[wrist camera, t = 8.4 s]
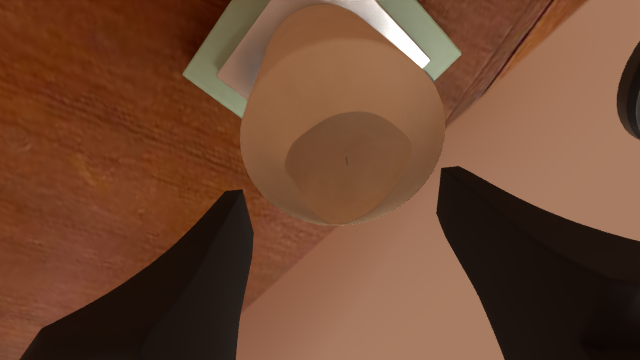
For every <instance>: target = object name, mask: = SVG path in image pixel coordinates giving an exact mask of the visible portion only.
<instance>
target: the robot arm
mask: <svg viewBox="0 0 640 360" xmlns="http://www.w3.org/2000/svg"><path fill="white" fill-rule="evenodd" d="M436 214H437V216H438V218H439V222H440V224H441V227H442V229H443V232H444V234H445V236H446V238H447V240H448V242H449V244H450V246H451V248H452V249H453V251H454V253H455V255H456V256H457V258H458V260H459V262H460V264H461V265H462V267H463V269H464V270H465V272H466V274H467V276H468V277H469V279H470V281H471V283H472V285H473V286H474V288H475V290H476V292H477V294H478V296H479V298H480V300H481V303H482V305H483V307H484V310H485V312H486V314H487V317H488V319H489V321H490V324H491V326H492V329H493V331H494V334H495V336H496V338H497V341H498V343H499V346H500V348H501V351H502V354H503V356H504V359H505V360H640V241H636V240H632V239H628V238H624V237H621V236H617V235H614V234H610V233H606V232H604V231H601V230H597V229H594V228H591V227H588V226H585V225H582V224H579V223H576V222H573V221H571V220H568V219H565V218H563V217H560V216H558V215H555V214H553V213H550V212H548V211H545V210H543V209H540V208H538V207H536V206H534V205H532V204H530V203H528V202H526V201H523V200H521V199H519V198H517V197H515V196H514V195H512V194H509V193H508V192H506V191H504V190H502V189H500V188H498V187H496V186H494V185H493V184H491V183H489V182H487V181H486V180H484V179H482V178H480V177H478V176H476V175H475V174H473V173H471V172H469V171H467V170H465V169H463V168H461V167H459V166H456V167H447V168H441V177H440V186H439V195H438V203H437V212H436ZM253 234H254V233H253V229H252V225H251V221H250V217H249V213H248V209H247V205H246V201H245V197H244V194H243V190H242V189H241V190H232V191H225V192H224V193H223V194H222V196H221V197H220V198H219V199H218V200H217V201H216V202H215V203H214V204H213V206H212V207H211V208H210V209H209V210H208V211H207V212H206V213H205V214H204V215H203V217H202V218H201V219H200V220H199V221H198V222H197V223H196V224H195V225H194V226H193V227H192V228H191V229H190V230H189V231H188V232H187V233H186V234H185V235H184V236H183V237H182V238H181V239H180V240H179V241H178V242H177V243H176V244H174V245H173V246H172V247H171V248H170V249H169V250H168V251H166V252H165V253H164V254H163V255H161V256H160V257H159V258H158V259H157V260H155V261H154V262H153V263H151V264H150V265H149V266H147V267H146V268H145V269H143V270H142V271H140V272H139V273H137V274H136V275H135V276H133V277H132V278H130V279H129V280H127V281H126V282H125V283H123V284H122V285H120V286H118V287H117V288H115V289H114V290H112V291H110V292H109V293H107V294H106V295H104V296H102V297H100V298H99V299H97V300H95V301H94V302H92V303H90V304H88V305H86V306H85V307H83V308H81V309H79V310H77V311H75V312H73V313H71V314H69V315H67V316H65V317H63V318H62V319H60V320H58V321H56V322H54V323H52V324H50V325H48V326H46V327H44V328H42V329H41V330H40V331H39V333H38V334H37V336H36V337H35V338H34V340H33V341H32V343H31V344H30V345H29V347H28V348H27V350H26V351H25V353H24V354H23V355H22V357H21V358H20V360H236V349H237V338H238V329H239V320H240V314H241V308H242V304H243V299H244V294H245V289H246V284H247V280H248V275H249V270H250V265H251V259H252V250H253Z"/></svg>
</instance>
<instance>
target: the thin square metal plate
mask: <svg viewBox="0 0 640 360" xmlns="http://www.w3.org/2000/svg"><path fill="white" fill-rule="evenodd" d="M325 4H328V5H336V6H339V7H343V8H345V9H348V10H350V11H352V12H354V13H355V14H357V15H358V16H360V17H361V18H363V19H364V20H365V21H366V22H367V23H369V24H370V25H371V26H372V27H374V28H375V29H376V30H377V31H379V32H380V33H381V34H382V35H383V36H385V37H386V38H387V39H388V40H390V41H391V42H392V43H393V44H394V45H396V46H397V47H398V48H399V49H401V50H402V51H403V52H404V53H405V54H407V55H408V56H409V57H410V58H411V59H413V60H414V61H415V62H416V63H417V64H418V65H419V66H420V67H421V68H422V69H423V68H424V67H425V66H426V65H427V64H428V63H429V62H430V61H431V59H430V58H429V57H428V55H427V54H426V53H425V52H424V51H423V50H422V49H421V48H420V47H419V46H418V45H417V44H416V42H415V41H414V40H413V39H412V38H411V37H410V36H409V35H408V34H407V33H406V32H405V30H404V29H403V28H402V27H401V26H400V25H399V24H398V23H397V22H396V21H395V20H394V19H393V17H392V16H391V15H390V14H389V13H388V12H387V11H386V10H385V9H384V8H383V7H382V5H381V4H380V3H379V2H378V1H377V0H270V1H269V2H268V4H267V5H266V6H265V8H264V9H263V11H262V12H261V13H260V15H259V16H258V18H257V19H256V20H255V22H254V23H253V24H252V26H251V27H250V29H249V30H248V31H247V33H246V34H245V36H244V37H243V38H242V40H241V41H240V42H239V44H238V45H237V47H236V48H235V49H234V51H233V52H232V54H231V55H230V56H229V58H228V59H227V61H226V62H225V63H224V65H223V66H222V67H221V69H220V70H219V72H218V73H217V74H216V77H217V78H219V79H220V80H221V81H223V82H224V83H225V84H226V85H228V86H229V87H230V88H232V89H233V90H234V91H236V92H237V93H238V94H240V95H241V96H242V97H244V98H245V99H246V100H248V99H249V96H250V93H251V90H252V88H253V85H254V82H255V79H256V77H257V74H258V71H259V68H260V66H261V63H262V60H263V57H264V55H265V52H266V49H267V47H268V44H269V42H270V40H271V38H272V36H273V34H274V33H275V31H276V30H277V28H278V27H279V26H280V25H281V23H282V22H283V21H284V20H286V19H287V18H288V17H289V16H291V15H292V14H294V13H295V12H297V11H299V10H301V9H303V8H306V7H309V6H314V5H325Z"/></svg>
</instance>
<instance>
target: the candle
mask: <svg viewBox="0 0 640 360" xmlns="http://www.w3.org/2000/svg"><path fill="white" fill-rule="evenodd" d="M444 137H445V117H444V110H443V106H442V101H441V99H440V96H439V94H438V91H437V89H436V87H435V85H434V84H433V82H432V80H431V79H430V77H429V76H428V75H427V74H426V72H425V71H424V70H423V69H422V68H421V67H420V66H419V65H418V64H417V63H416V62H415V61H414V60H413V59H411V58H410V57H409V56H408V55H407V54H405V53H404V52H403V51H402V50H401V49H399V48H398V47H397V46H396V45H394V44H393V43H392V42H391V41H390V40H388V39H387V38H386V37H385V36H383V35H382V34H381V33H380V32H379V31H377V30H376V29H375V28H374V27H372V26H371V25H370V24H369V23H367V22H366V21H365V20H364V19H363V18H361V17H360V16H358V15H357V14H355V13H354V12H352V11H350V10H348V9H345V8H343V7H339V6H336V5H328V4H325V5H314V6H309V7H306V8H303V9H301V10H299V11H297V12H295V13H294V14H292V15H291V16H289V17H288V18H287V19H286V20H284V21H283V22H282V23H281V25H280V26H279V27H278V28H277V30H276V31H275V33H274V34H273V36H272V38H271V40H270V42H269V44H268V47H267V49H266V52H265V55H264V57H263V60H262V63H261V66H260V68H259V71H258V74H257V77H256V79H255V82H254V85H253V88H252V90H251V93H250V96H249V99H248V101H247V104H246V107H245V111H244V114H243V117H242V123H241V129H240V146H241V153H242V158H243V161H244V165H245V168H246V170H247V172H248V174H249V176H250V178H251V180H252V182H253V183H254V185H255V186H256V188H257V189H258V190H259V191H260V193H261V194H262V195H263V196H264V197H265V198H266V199H267V200H268V201H269V202H270V203H272V204H273V205H274V206H276V207H277V208H278V209H280V210H281V211H283V212H285V213H287V214H289V215H290V216H293V217H295V218H298V219H300V220H303V221H306V222H310V223H314V224H320V225H331V226H342V225H352V224H359V223H362V222H367V221H370V220H373V219H376V218H378V217H381V216H383V215H385V214H387V213H389V212H391V211H393V210H395V209H396V208H398V207H399V206H401V205H402V204H404V203H405V202H406V201H408V200H409V199H410V198H411V197H412V196H413V195H414V194H415V193H416V192H418V191H419V189H420V188H421V187H422V186H423V185H424V184H425V182H426V181H427V179H428V178H429V176H430V175H431V173H432V172H433V170H434V168H435V166H436V164H437V162H438V160H439V157H440V154H441V151H442V147H443V142H444Z"/></svg>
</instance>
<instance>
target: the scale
mask: <svg viewBox="0 0 640 360" xmlns="http://www.w3.org/2000/svg"><path fill="white" fill-rule="evenodd" d="M269 1H270V0H231V2H230V3H229V5H228V6H227V8H226V9H225V11H224V12H223V14H222V15H221V17H220V18H219V20H218V21H217V23H216V24H215V26H214V27H213V29H212V30H211V32H210V33H209V34H208V36H207V37H206V39H205V40H204V42H203V43H202V45H201V46H200V48H199V49H198V51H197V52H196V54H195V55H194V57H193V58H192V60H191V61H190V63H189V64H188V66H187V67H186V69H185V70H184V72H183V74H182V75H183V76H184V77H186V78H187V79H188V80H190V81H191V82H192V83H194V84H195V85H197V86H198V87H199V88H201V89H202V90H203V91H205V92H206V93H207V94H209V95H210V96H212V97H213V98H214V99H216V100H217V101H218V102H220V103H221V104H223V105H224V106H225V107H227V108H228V109H229V110H231V111H232V112H234V113H235V114H236V115H238V116H239V117H240V118H242V117H243V114H244V111H245V107H246V104H247V101H248V100H246V99H245V98H244V97H242V96H241V95H240V94H238V93H237V92H236V91H234V90H233V89H232V88H230V87H229V86H228V85H226V84H225V83H224V82H223V81H221V80H220V79H219V78H217V77H216V74H217V73H218V72H219V70H220V69H221V67H222V66H223V65H224V63H225V62H226V61H227V59H228V58H229V56H230V55H231V54H232V52H233V51H234V49H235V48H236V47H237V45H238V44H239V42H240V41H241V40H242V38H243V37H244V36H245V34H246V33H247V31H248V30H249V29H250V27H251V26H252V24H253V23H254V22H255V20H256V19H257V18H258V16H259V15H260V13H261V12H262V11H263V9H264V8H265V6H266V5H267V4H268V2H269ZM377 1H378V2H379V3H380V4H381V5H382V7H383V8H384V9H385V10H386V11H387V12H388V13H389V14H390V15H391V16H392V17H393V19H394V20H395V21H396V22H397V23H398V24H399V25H400V26H401V27H402V28H403V29H404V30H405V32H406V33H407V34H408V35H409V36H410V37H411V38H412V39H413V40H414V41H415V42H416V44H417V45H418V46H419V47H420V48H421V49H422V50H423V51H424V52H425V53H426V54H427V55H428V57H429V58H430V59H431V61H430V62H429V63H428V64H427V65H426V66H425V67H424V68H423V70H424V71H425V72H426V74H427V75H428V76H429V77H430V79H431V80H432V82H434V81H435V80H436V79H437V78H438V77H439V76H440V75H441V74H442V73H443V72H444V71H445V70H446V69H447V68H448V67H449V66H450V65H451V64H452V63H453V62H454V61H455V60H456V59H457V58H458V57H459V56H460V55H461V54H462V53H461V51H460V50H459V49H458V48H457V46H456V45H455V44H454V43H453V42H452V41H451V39H450V38H449V37H448V36H447V35H446V34H445V33H444V31H443V30H442V29H441V28H440V27H439V26H438V24H437V23H436V22H435V21H434V20H433V19H432V17H431V16H430V15H429V14H428V13H427V12H426V10H425V9H424V8H423V7H422V6H421V5H420V3H419V2H418V1H417V0H377Z"/></svg>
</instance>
